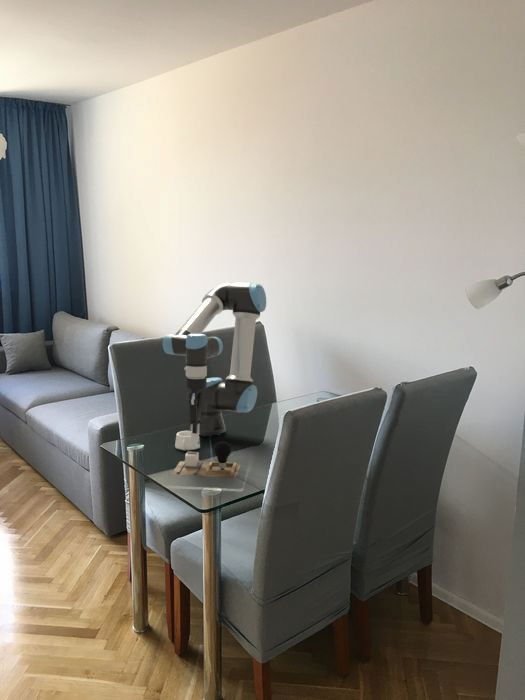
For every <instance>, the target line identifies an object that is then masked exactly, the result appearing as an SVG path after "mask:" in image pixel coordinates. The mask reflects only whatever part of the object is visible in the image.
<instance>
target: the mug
mask: <svg viewBox="0 0 525 700" xmlns="http://www.w3.org/2000/svg"><path fill="white" fill-rule="evenodd" d="M175 435H176V436H175V442H174V443H175V444H174V447H175V449H177V450H181V451H193V450H198V449H201V442H200V439H199V442H191V431H190V430H181V431H178V432H177V433H176V434H175Z"/></svg>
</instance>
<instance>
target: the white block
mask: <svg viewBox="0 0 525 700" xmlns="http://www.w3.org/2000/svg"><path fill="white" fill-rule="evenodd" d="M199 455H200V454H199V452H198V451H187V452H186V453H185V455H184V458H185V459H184V461H185V466H189V467H197V465H198V463H199V462H200V461H199Z"/></svg>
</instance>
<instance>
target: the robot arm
mask: <svg viewBox="0 0 525 700" xmlns="http://www.w3.org/2000/svg"><path fill="white" fill-rule="evenodd" d="M266 308H267V293H266V291H265V289H264V287H263V285H261V284H260V283H253V282H225V283H222V284H219V285H217V286H216V287H214V288H212V289H211V290H210V291H208V292H207V293H206V294H205V295H204V297H202V300H201V304H200V305H199V306H198V307H197V309H195V311H194V312H193V313H192V314H191V316H189V318H188V319H187V320H186V321H185V323H184V324H182V326H181V327H180V328H179V329H178V331H177V332H176V333H175V334H172V333H171V334H166V335H165V336H164V338H163V341H162V348H163V351H164V353H165V354H168V355H173V356H183V357H184V356H185V367H184V368H183V370H184V371H185V376H186V377H185V380H184V381H185V382H184V383H185V389H188V390H191V391H190V393H189V396H188V398H189V399H188V404H189V422H188V425H190V426H189V431H190V430H191V442H199V440H200V436H199V435H204V436H203V437H206V436H209V437H213V436H212V435H218V434H221V433H223V432H224V431H225V432H226V425H225V421H224V418H223V416H222V415H223V413H222V411H229V412H235V413H236V412H237V413H249V412H250V411H252V409H253V408H254V407H255V404H256V402H257V398H258V388H257V386H256V385H254V380H253V379H252V377H251V374H252V373H251V370H252V362H253V352H254V342H255V334H256V333H255V332H256V324H257V323H256V321H257V320H258V319H259V318H260V316H261V313H263V312H264V311H265V310H266ZM228 310H229V311H232V315H233V317H235V320H234V332H233V341H232V349H231V350H232V351H231V360H230V361H231V362H230V370H229V375H228V376H226V378H225V381H223V379H222V378H221V377H207V376H208V363H207V362H208V359H210V358H215V357H217V356H219V355H221V354H222V351H223V350H224V349H223V348H224V345H223V341H222V340H221V339H220V338H219V337H218V336H207V334H205V333H203V332H204V331H205V329H206V328H207V327H208V326H209V325H210V324H211V322H212V321H213V319H214V318H215V317H216V316H217V315H220V314H221V313H222V312H223V311H228ZM218 436H219V435H218Z"/></svg>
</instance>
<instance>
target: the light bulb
mask: <svg viewBox="0 0 525 700" xmlns="http://www.w3.org/2000/svg"><path fill="white" fill-rule="evenodd" d="M213 451H214V454H215V457H217V462H219V468H220V469H222V470H223V469H224V468H226V462H228V457H230V455H231V453H232V447H231V444H229V443H228V442H227V441H225V440H224V441H223V440H222V441H218V442H217V443H215V444H214V449H213Z"/></svg>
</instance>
